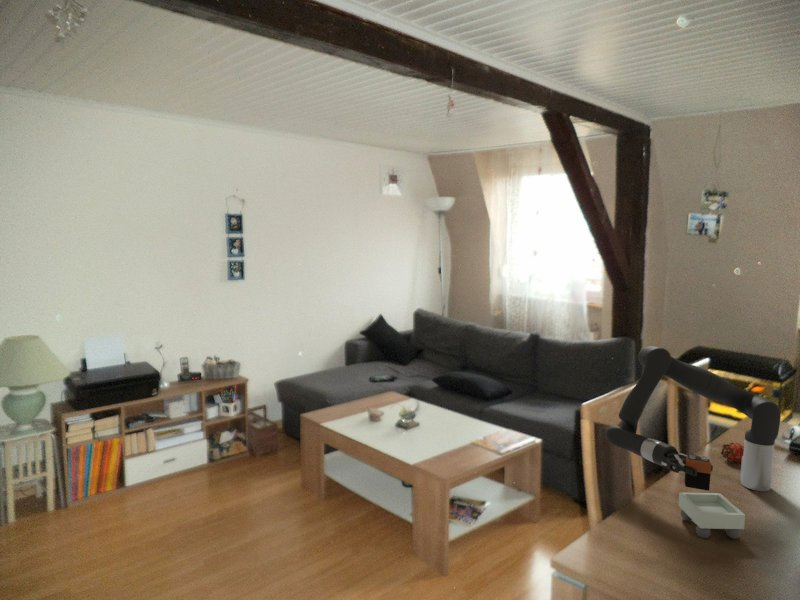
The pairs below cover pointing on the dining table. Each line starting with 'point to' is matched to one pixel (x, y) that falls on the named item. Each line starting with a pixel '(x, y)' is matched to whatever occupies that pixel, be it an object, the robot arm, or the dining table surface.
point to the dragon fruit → (733, 452)
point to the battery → (698, 472)
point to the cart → (711, 513)
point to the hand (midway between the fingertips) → (704, 470)
